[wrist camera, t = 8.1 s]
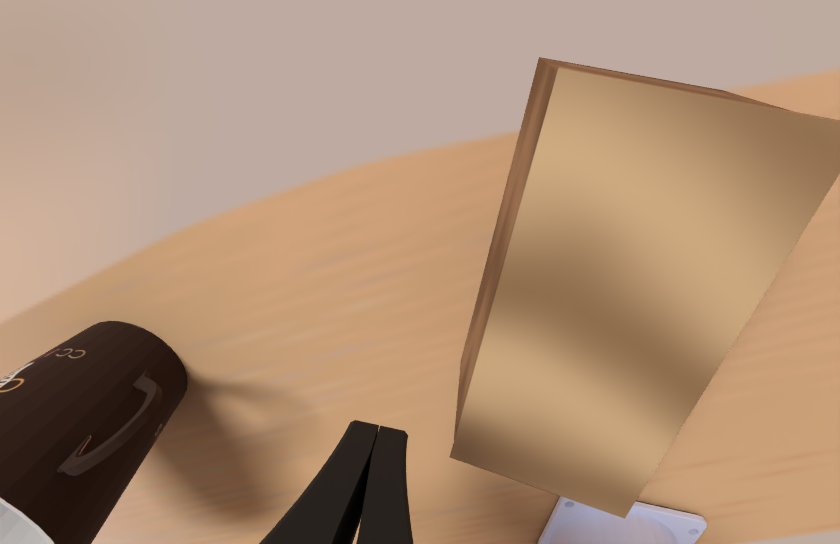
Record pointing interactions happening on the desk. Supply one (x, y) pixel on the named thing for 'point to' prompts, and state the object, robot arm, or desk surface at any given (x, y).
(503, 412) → the lid
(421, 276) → the desk surface
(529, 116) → the walnut box
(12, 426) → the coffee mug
